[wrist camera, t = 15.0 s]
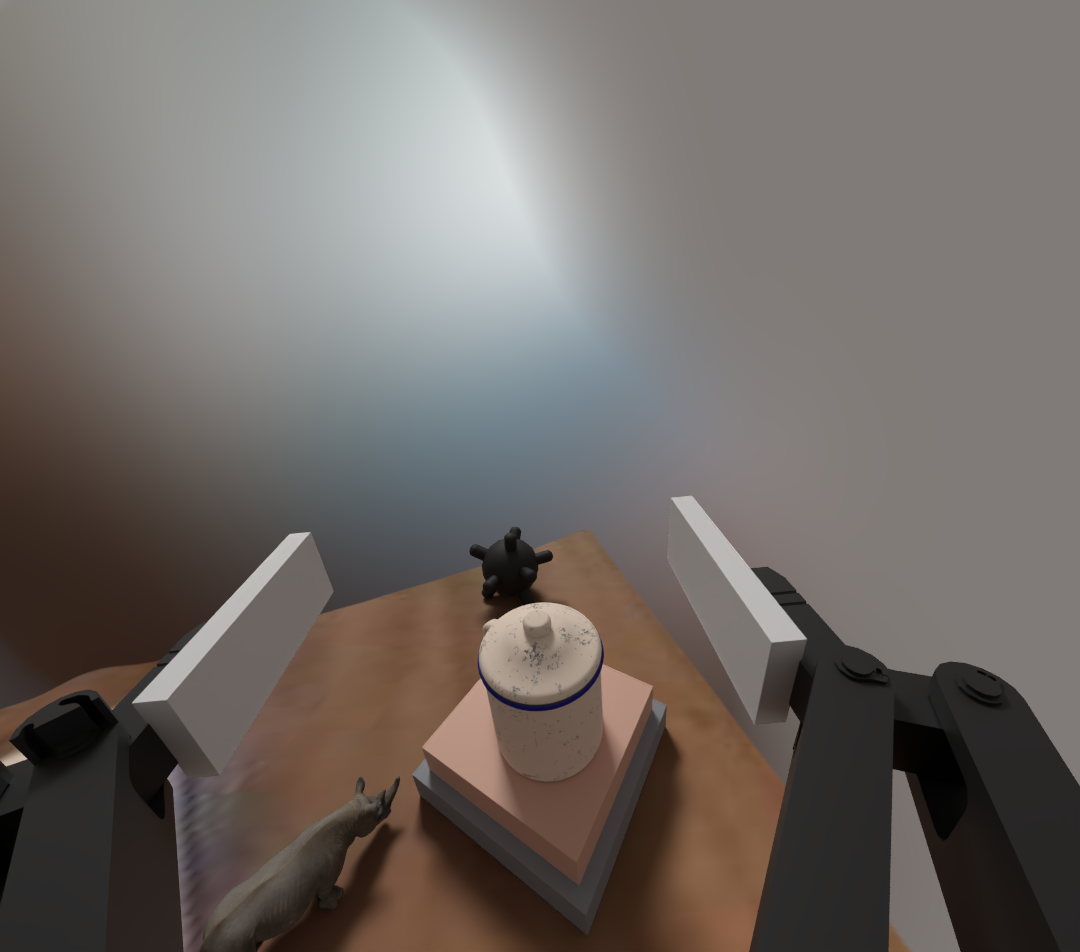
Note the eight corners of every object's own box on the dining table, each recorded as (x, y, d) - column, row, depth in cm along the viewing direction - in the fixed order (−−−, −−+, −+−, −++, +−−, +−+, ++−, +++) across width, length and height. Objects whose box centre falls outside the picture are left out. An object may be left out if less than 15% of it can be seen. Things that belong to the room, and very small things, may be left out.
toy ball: (532, 536, 64) (579, 552, 54) (504, 601, 62) (547, 630, 52) (477, 509, 59) (518, 521, 49) (444, 578, 57) (479, 606, 47)
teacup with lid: (629, 725, 33) (630, 614, 28) (547, 819, 28) (529, 704, 23) (531, 643, 41) (518, 547, 36) (453, 704, 36) (426, 601, 31)
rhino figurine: (423, 818, 34) (406, 774, 31) (230, 1029, 25) (185, 992, 22) (396, 783, 36) (379, 741, 34) (213, 963, 27) (170, 923, 25)
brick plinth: (420, 795, 35) (403, 752, 32) (526, 658, 47) (520, 619, 44) (587, 936, 27) (583, 892, 24) (665, 726, 38) (668, 682, 36)
